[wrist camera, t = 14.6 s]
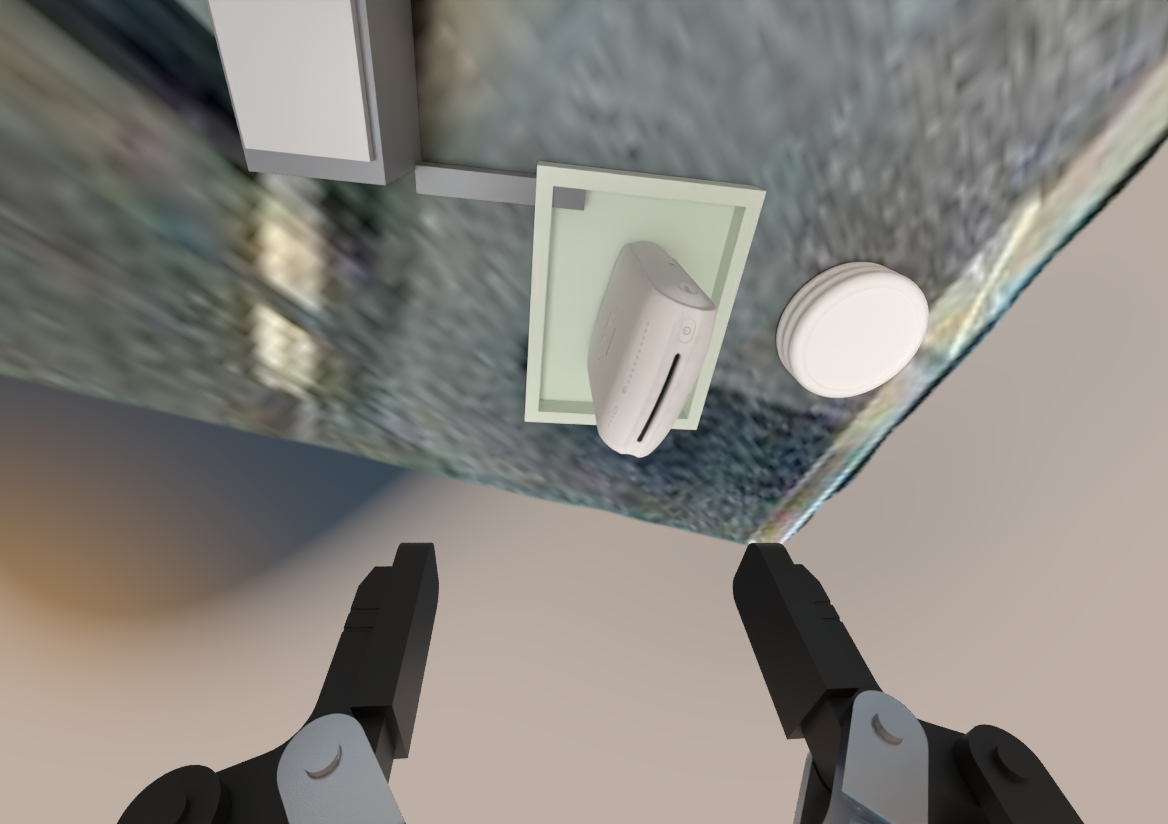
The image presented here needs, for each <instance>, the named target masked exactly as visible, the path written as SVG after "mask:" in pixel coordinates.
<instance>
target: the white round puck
mask: <svg viewBox="0 0 1168 824" xmlns="http://www.w3.org/2000/svg"><path fill="white" fill-rule="evenodd" d="M928 319H929V310H928V305H927V301H926V299H925V296H924V294H923V293H922V291H921V290H920V288H919V287H918V286H917V285H916V284H915V283H914V282H913V281H912V280H910V279H909V278H907V277H905V276H903V275H901V274H899V273H897V272H895V271H893V270H890V269H888V268H887V267H885V266H882V265H880V264H876V263H872V262H851V263H846V264H842V265H838V266H835V267H833V268H830V269H828V270H826V271H824V272H822V273H821V274H819V275H817V276H816V277H814V278H813V279H812V280H810V281H809V282H808V283H807V284H805V285H804V286H803V287H802V288H801V289H800V290H799V291H798V292H797V293H796V294H795V295H794V297H793V298H792V299H791V300H790V302H789V303H788V305H787V306H786V308H785V310H784V312H783V314H782V316H781V319H780V321H779V324H778V328H777V334H776V346H777V350H778V355H779V357H780V360H781V362H782V363H783V365H784V367H785V368H786V369H787V370H788V371H789V372H790V373H791V374H792V375H793V377H794V378H795V379H796V380H797V381H798V382H799V383H800V384H801V385H802V386H803V387H804V388H806V389H807V390H809V391H811V392H813V393H815V394H817V395H820V396H824V397H830V398H844V397H851V396H855V395H859V394H862V393H865V392H867V391H870V390H872V389H874V388H876V387H878V386H880V385H881V384H883V383H885V382H886V381H888V380H889V379H890V378H892V377H893V376H894V375H896V374H897V373H898V372H899V371H900V370H901V369H902V368H903V367H904V366H905V365H906V364H907V363H908V362H909V361H910V360H911V358H912V357H913V356H914V354H915V353H916V351H917V350H918V348H919V346H920V345H921V343H922V341H923V338H924V336H925V333H926V330H927V326H928Z"/></svg>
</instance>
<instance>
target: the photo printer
mask: <svg viewBox="0 0 1168 824" xmlns="http://www.w3.org/2000/svg"><path fill="white" fill-rule="evenodd" d="M716 311H717V309H716V305H715V304H714V302H713V301H712V300H711V299H710V298H709V297H708V296H707V295H706V294H705V292H704V291H703V290H702V289H701V288H700V287H699V286H698V285H697V283H696V282H695V281H694V280H693V279H692V278H691V277H690V275H689V274H688V273H687V272H686V271H685V270H684V269H683V267H682V266H681V265H680V264H679V263H678V262H677V260H675V259H674V258H672V257H670V256H669V255H668V254H667V253H666V252H665V250H664V249H663V248H661V247H660V246H659V245H657V244H655V243H652V242H647V241H642V242H637V243H634V244H632V245H629V244H627V245H626V246H625V247H624V249H623V251H622V253H621V254H620V256H619V259H618V261H617V264H616V266H615V269H614V271H613V274H612V277H611V280H610V282H609V285H608V288H607V291H606V294H605V297H604V300H603V303H602V306H601V310H600V313H599V316H598V319H597V323H596V326H595V329H594V333H593V336H592V340H591V343H590V347H589V352H588V358H587V370H588V376H589V382H590V388H591V394H592V400H593V405H594V411H595V417H596V423H597V428H598V432H599V435H600V437H601V438H602V440H603V441H604V442H605V443H606V444H607V445H608V446H609V447H610V448H612V449H613V450H615V451H617V452H619V453H620V454H631V455H634V456H636V457H644V456H647V455H649V454H650V453H651V452H652V451H653V450H654V449H655V448H656V447H657V446H658V445H659V444H660V443H661V442H662V440H663V439H664V438H665V436H666V435H667V434H668V432H669V431H670V429H671V427H672V426H673V424H674V423H675V421H676V419H677V418H678V416H679V414H680V413H681V411H682V410H683V407H684V405H685V403H686V401H687V399H688V398H689V395H690V393H691V391H692V389H693V386H694V384H695V382H696V380H697V377H698V375H699V373H700V370H701V367H702V365H703V362H704V360H705V357H706V354H707V351H708V348H709V345H710V341H711V337H712V334H713V330H714V325H715V319H716Z"/></svg>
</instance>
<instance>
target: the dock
mask: <svg viewBox="0 0 1168 824" xmlns="http://www.w3.org/2000/svg"><path fill="white" fill-rule="evenodd" d="M206 2H207V6H208V10H209V14H210V18H211V22H212V26H213V30H214V34H215V38H216V42H217V46H218V50H219V54H220V58H221V62H222V66H223V70H224V74H225V78H226V82H227V86H228V90H229V94H230V98H231V102H232V106H233V110H234V114H235V118H236V122H237V126H238V130H239V134H240V138H241V142H242V145H243V149H244V153H245V157H246V161H247V165H248V169H249V171H253V172H263V173H273V174H282V175H292V176H301V177H311V178H320V179H330V180H339V181H349V182H358V183H368V184H377V185H387V184H389V183H391V182H393V181H395V180H397V179H399V178H401V177H402V176H404V175H406V174H408V173H410V172H412V171H414V170H415V178H416V191H417V193H418V194H428V195H438V196H447V197H457V198H467V199H476V200H486V201H496V202H505V203H515V204H524V205H534V206H535V201H536V180H537V174H531V173H522V172H513V171H504V170H495V169H486V168H478V167H469V166H460V165H451V164H442V163H433V162H424V161H422V154H421V140H420V126H419V111H418V97H417V83H416V68H415V54H414V40H413V26H412V11H411V0H206ZM585 196H586V190H585V189H576V188H567V187H558V186H553V198H552V207H553V208H563V209H573V210H582V211H584V206H585Z"/></svg>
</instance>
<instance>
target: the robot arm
mask: <svg viewBox="0 0 1168 824" xmlns="http://www.w3.org/2000/svg"><path fill="white" fill-rule="evenodd" d="M438 594H439V580H438V572H437V565H436V557H435V550H434V544H433V543H401V544H400V545H399V547H398V549H397V552H396V556H395V559H394V562H393V566H391V567H390V566H387V567H374V568H373V570H372V571H371V572H370V573H369V574H368V576H367V577H366V578H365V579H364V580H363V582H362V583H361V584H360V585H359V587H358V590H357V593H356V595H355V598H354V601H353V604H352V606H351V611H350V613H349V615H348V617H347V620H346V623H345V626H344V631H343V632H342V634H341V637H340V640H339V643H338V645H337V648H336V651H335V654H334V657H333V659H332V662H331V665H330V668H329V671H328V673H327V676H326V679H325V682H324V685H323V688H322V690H321V693H320V696H319V699H318V701H317V704H316V706H315V709H314V710H313V712H312V714H311V716H310V717H309V719H308V720H307V721H306V723H305V724H304V725H303V727H302V728H301V729H300V730H299V731H298V732H297V733H296V734H295V735H294V736H293V737H291V738H290V739H289V740H288V741H286V742H285V743H284V744H282V745H281V746H279V747H277V748H276V749H274V750H272V751H270V752H267V753H265V754H263V755H260V756H258V757H255V758H252V759H250V760H247V761H245V762H242V763H239V764H237V765H234V766H232V767H229V768H227V769H224V770H221V771H219V772H216V773H215V772H214V771H213V770H212V769H210V768H208V767H205V766H201V765H189V766H184V767H181V768H178V769H175V770H173V771H171V772H169V773H166V774H164V775H163V776H162V777H160V778H158V779H157V780H155V781H154V782H153V783H151V784H150V785H149V786H147V787H146V788H145V789H144V790H143V791H142V792H141V793H140V794H139V795H138V796H137V797H136V798H135V799H134V800H133V801H132V802H131V803H130V805H129V806H128V807H127V809H126V810H125V812H124V813H123V814H122V816H121V818H120V819H119V821H118V823H117V824H406V823H405V821H404V818H403V816H402V814H401V812H400V810H399V808H398V805H397V803H396V801H395V799H394V797H393V794H392V792H391V790H390V788H389V785H388V782H389V777H390V773H391V768H392V763H393V759H400V758H408V754H409V749H410V744H411V738H412V733H413V728H414V723H415V718H416V713H417V707H418V702H419V696H420V692H421V687H422V681H423V676H424V671H425V666H426V661H427V656H428V651H429V645H430V640H431V635H432V630H433V624H434V619H435V614H436V609H437V603H438ZM733 595H734V600H735V603H736V606H737V609H738V611H739V614H740V616H741V619H742V622H743V624H744V627H745V630H746V632H747V635H748V638H749V640H750V643H751V645H752V648H753V651H754V653H755V656H756V659H757V661H758V664H759V666H760V669H761V672H762V674H763V677H764V680H765V682H766V685H767V687H768V690H769V693H770V695H771V698H772V700H773V703H774V706H775V708H776V711H777V714H778V716H779V719H780V722H781V724H782V727H783V729H784V732H785V735H786V737H787V739H800V738H805V740H806V742H807V745H808V747H809V750H810V751H809V753H808V754H807V758H806V762H805V767H804V772H803V777H802V782H801V787H800V792H799V797H798V802H797V807H796V811H795V817H794V822H793V824H1084V823H1083V821H1082V820H1081V819H1080V817H1079V816H1078V815H1077V813H1076V811H1075V810H1074V809H1073V807H1072V806H1071V804H1070V803H1069V801H1068V800H1067V798H1066V797H1065V796H1064V794H1063V793H1062V791H1061V790H1060V788H1059V787H1058V786H1057V784H1056V783H1055V781H1054V780H1053V778H1052V777H1051V775H1050V774H1049V773H1048V771H1047V770H1046V768H1045V767H1044V765H1043V764H1042V763H1041V761H1040V760H1039V759H1038V757H1037V756H1036V755H1035V754H1034V753H1033V752H1032V751H1031V750H1030V749H1029V748H1028V747H1027V746H1026V745H1025V744H1024V743H1022V742H1021V741H1020V740H1019V739H1017V738H1016V737H1015V736H1013V735H1012V734H1010V733H1008V732H1006V731H1005V730H1003V729H1000V728H998V727H995V726H991V725H978V726H975V727H974V728H973V729H971V730H970V731H969V732H968V733H966V734H963V733H960V732H957V731H953V730H950V729H947V728H944V727H940V726H937V725H934V724H931V723H928V722H925V721H922V720H919V719H917V718H916V717H915V716H914V715H913V714H912V713H911V711H910V710H909V709H908V708H907V707H906V706H905V705H903V704H902V703H901V702H900V701H898V700H897V699H895V698H894V697H892V696H890V695H888V694H885V693H884V692H883V691H882V690H881V688H880V687H879V685H878V684H877V682H876V681H875V679H874V677H873V675H872V674H871V672H870V670H869V668H868V667H867V665H866V663H865V661H864V660H863V658H862V656H861V655H860V652H859V651H858V649H857V647H856V645H855V644H854V642H853V640H852V638H851V637H850V635H849V633H848V631H847V629H846V628H845V626H844V624H843V623H842V622H840V619H839V618H840V617H839V615H838V614H837V612H836V610H835V608H834V607H833V605H831V604H830V600H829V598H828V596H827V594H826V592H825V591H824V589H823V587H822V585H821V584H820V582H819V581H818V580H817V579H816V578H815V577H814V576H813V575H812V574H811V573H810V572H809V571H808V570H807V569H806V568H805V567H804V566H803V565H802V564H794V563H793V561H792V559H791V558H790V556H789V554H788V552H787V550H786V548H785V547H784V546H783V545H782V544H780V543H751V544H749V545H748V547H747V549H746V552H745V554H744V556H743V559H742V561H741V563H740V565H739V568H738V570H737V572H736V574H735V577H734V580H733Z"/></svg>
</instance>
